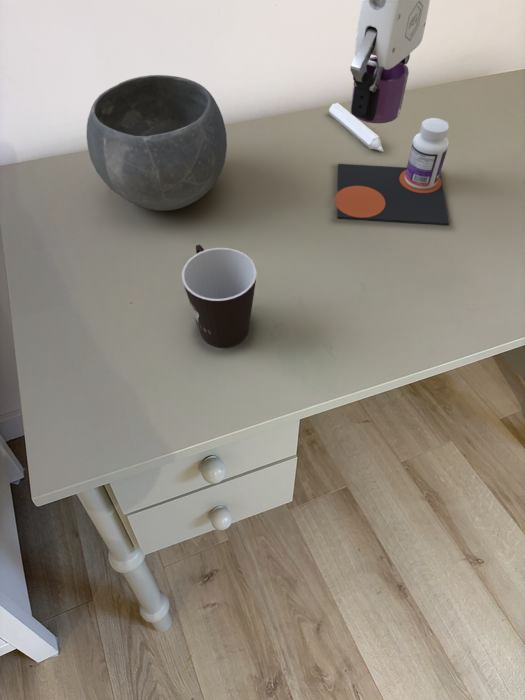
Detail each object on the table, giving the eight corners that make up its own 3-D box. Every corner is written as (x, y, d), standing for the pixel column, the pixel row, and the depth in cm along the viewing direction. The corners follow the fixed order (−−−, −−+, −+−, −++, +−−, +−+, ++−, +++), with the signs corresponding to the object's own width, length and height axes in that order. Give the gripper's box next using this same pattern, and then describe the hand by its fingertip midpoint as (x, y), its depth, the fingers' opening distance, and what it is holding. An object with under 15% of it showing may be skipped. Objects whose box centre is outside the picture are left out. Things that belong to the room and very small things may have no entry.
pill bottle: (423, 167, 89) (438, 111, 82) (444, 184, 86) (461, 128, 79) (397, 176, 88) (410, 120, 80) (417, 194, 85) (432, 138, 77)
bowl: (176, 142, 95) (164, 55, 83) (256, 193, 86) (255, 103, 74) (79, 191, 86) (50, 101, 74) (157, 253, 77) (137, 162, 65)
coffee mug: (256, 355, 66) (255, 301, 58) (188, 354, 66) (177, 300, 58) (258, 287, 73) (257, 231, 65) (196, 287, 73) (188, 230, 65)
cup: (398, 99, 73) (406, 57, 69) (401, 124, 69) (410, 82, 65) (350, 96, 74) (355, 55, 69) (350, 122, 70) (356, 80, 65)
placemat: (438, 171, 89) (439, 168, 89) (448, 225, 81) (449, 222, 81) (335, 165, 90) (335, 163, 90) (333, 218, 82) (334, 215, 82)
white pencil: (382, 161, 93) (331, 117, 101) (391, 152, 92) (340, 109, 100) (378, 151, 90) (327, 107, 99) (388, 142, 90) (336, 99, 98)
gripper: (400, -25, 51) (369, 144, 65) (469, -72, 60) (429, 86, 74) (333, -41, 54) (318, 124, 68) (408, -84, 62) (381, 71, 76)
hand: (376, 103), depth 71 cm, fingers closed on cup, 6 cm apart
